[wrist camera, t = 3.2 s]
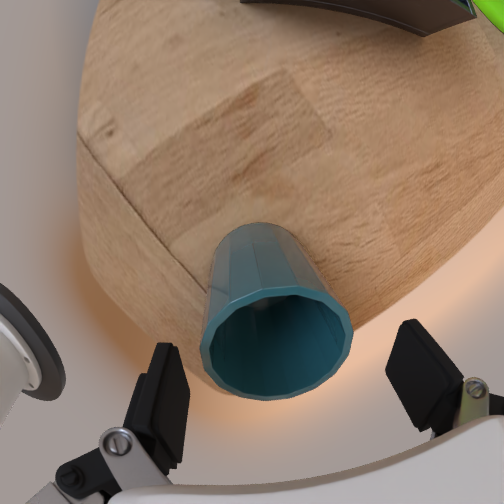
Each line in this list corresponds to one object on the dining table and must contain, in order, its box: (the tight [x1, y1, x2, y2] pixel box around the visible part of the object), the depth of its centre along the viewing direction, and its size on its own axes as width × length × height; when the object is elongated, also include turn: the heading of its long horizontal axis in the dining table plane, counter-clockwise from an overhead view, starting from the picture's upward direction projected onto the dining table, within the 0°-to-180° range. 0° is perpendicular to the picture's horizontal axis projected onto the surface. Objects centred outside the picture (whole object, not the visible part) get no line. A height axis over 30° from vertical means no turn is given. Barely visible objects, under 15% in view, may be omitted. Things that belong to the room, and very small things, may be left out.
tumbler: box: [199, 223, 354, 401], centre depth 15 cm, size 7×7×9 cm
